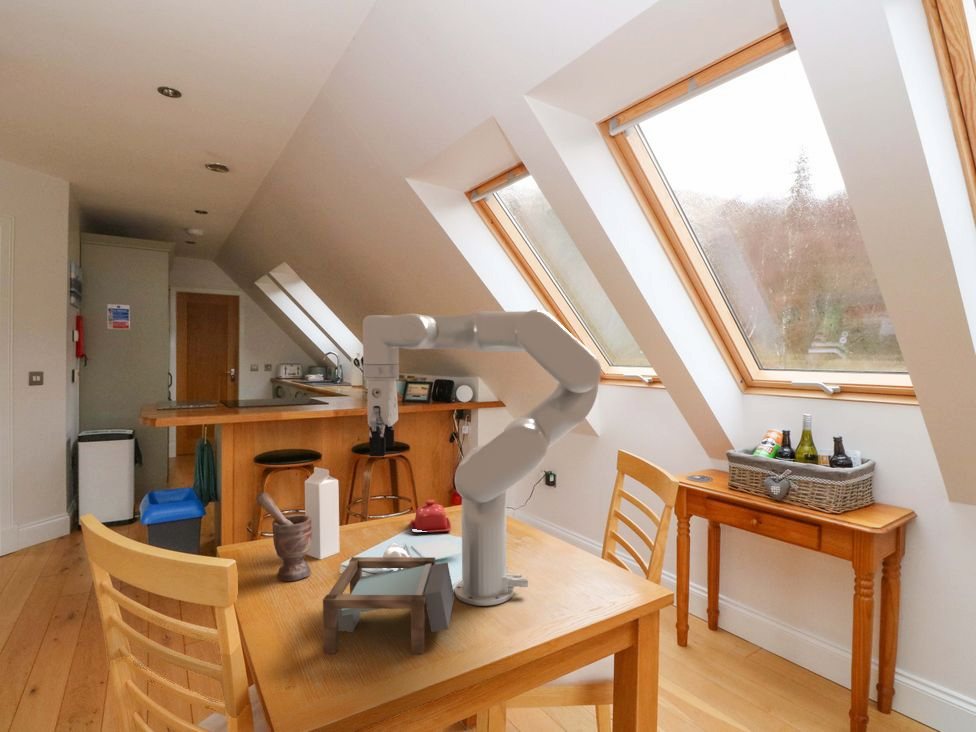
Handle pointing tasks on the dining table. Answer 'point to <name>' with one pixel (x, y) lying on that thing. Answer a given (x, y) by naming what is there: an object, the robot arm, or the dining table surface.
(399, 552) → the elephant figurine
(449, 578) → the trapdoor
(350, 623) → the gray cube
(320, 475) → the milk
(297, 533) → the mortar and pestle
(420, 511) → the butter dish
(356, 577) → the frame
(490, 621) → the dining table surface
